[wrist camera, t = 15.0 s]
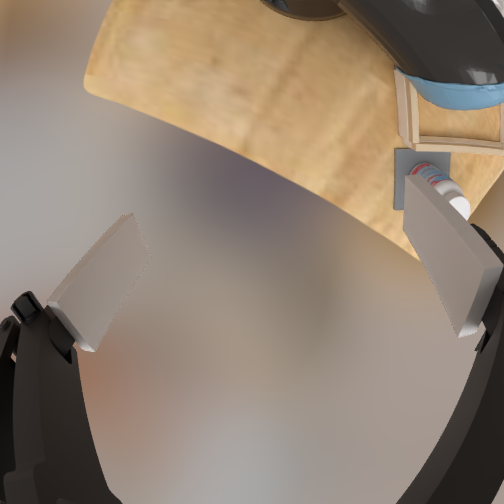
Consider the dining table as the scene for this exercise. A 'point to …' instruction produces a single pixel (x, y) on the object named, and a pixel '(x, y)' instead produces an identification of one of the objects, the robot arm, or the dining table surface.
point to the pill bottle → (444, 187)
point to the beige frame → (411, 138)
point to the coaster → (407, 161)
